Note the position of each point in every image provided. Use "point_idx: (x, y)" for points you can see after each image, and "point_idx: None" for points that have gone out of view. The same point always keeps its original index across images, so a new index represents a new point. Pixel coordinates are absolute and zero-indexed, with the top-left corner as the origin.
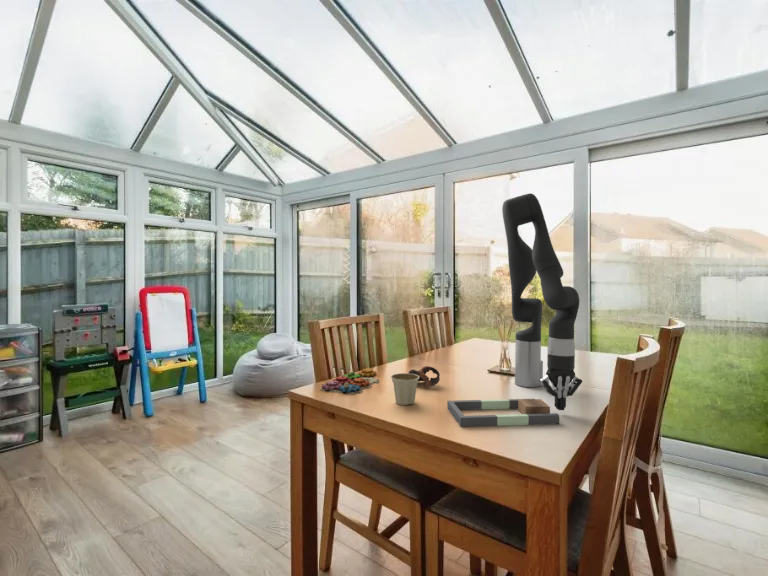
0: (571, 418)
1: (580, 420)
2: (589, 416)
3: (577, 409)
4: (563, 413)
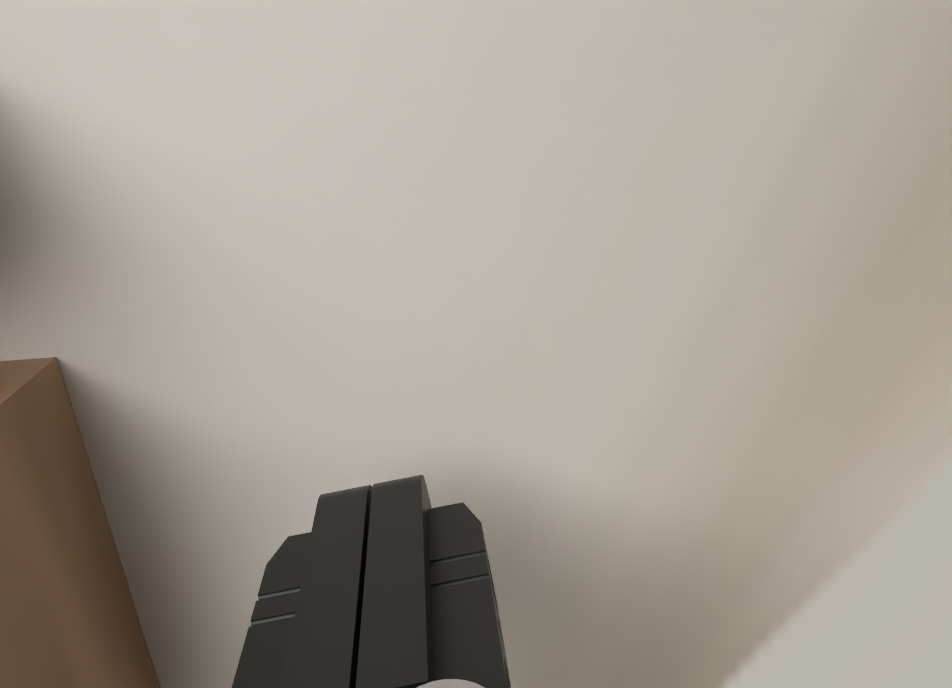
0: (512, 607)
1: (608, 655)
2: (836, 494)
3: (855, 157)
4: (472, 417)
